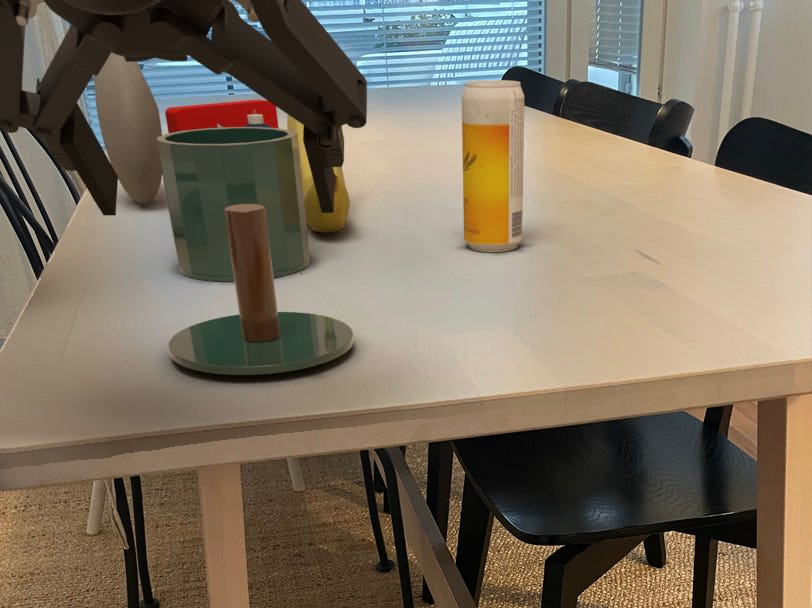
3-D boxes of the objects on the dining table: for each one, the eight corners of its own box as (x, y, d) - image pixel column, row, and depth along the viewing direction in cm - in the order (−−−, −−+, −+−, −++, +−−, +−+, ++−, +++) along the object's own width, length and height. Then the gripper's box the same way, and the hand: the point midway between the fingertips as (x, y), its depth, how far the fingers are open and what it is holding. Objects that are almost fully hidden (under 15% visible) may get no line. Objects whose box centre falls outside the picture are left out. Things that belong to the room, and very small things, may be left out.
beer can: (479, 238, 106) (478, 79, 98) (531, 243, 104) (534, 80, 96) (454, 250, 102) (450, 84, 93) (507, 255, 99) (508, 86, 91)
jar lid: (143, 382, 69) (112, 227, 63) (203, 325, 80) (181, 189, 74) (334, 385, 68) (320, 228, 62) (368, 327, 79) (358, 190, 74)
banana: (361, 245, 104) (345, 22, 93) (305, 248, 103) (282, 23, 92) (340, 206, 122) (324, 16, 111) (293, 208, 121) (272, 16, 110)
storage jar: (160, 280, 92) (135, 145, 86) (202, 250, 103) (182, 127, 96) (292, 282, 91) (277, 145, 85) (321, 251, 102) (309, 126, 95)
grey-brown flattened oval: (181, 214, 119) (151, 32, 108) (120, 219, 117) (84, 33, 106) (165, 189, 133) (137, 26, 123) (110, 193, 131) (77, 27, 120)
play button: (189, 195, 129) (175, 109, 124) (178, 192, 131) (164, 107, 125) (284, 181, 138) (275, 100, 132) (273, 179, 139) (263, 99, 134)
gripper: (-228, -53, 40) (15, 251, 61) (385, -60, 40) (418, 246, 61) (-206, -204, 41) (24, 144, 62) (387, -210, 41) (418, 139, 62)
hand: (219, 195), depth 61 cm, fingers open, 13 cm apart
